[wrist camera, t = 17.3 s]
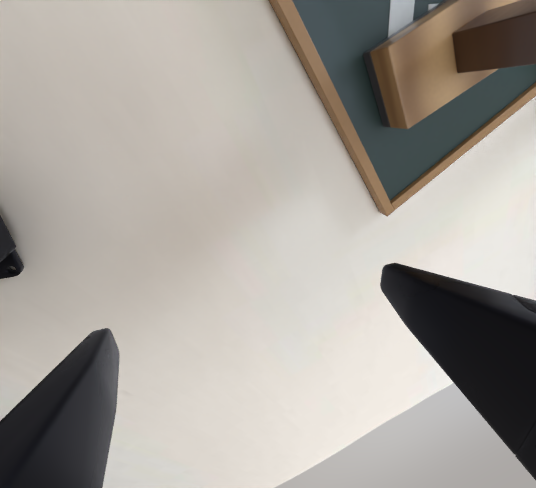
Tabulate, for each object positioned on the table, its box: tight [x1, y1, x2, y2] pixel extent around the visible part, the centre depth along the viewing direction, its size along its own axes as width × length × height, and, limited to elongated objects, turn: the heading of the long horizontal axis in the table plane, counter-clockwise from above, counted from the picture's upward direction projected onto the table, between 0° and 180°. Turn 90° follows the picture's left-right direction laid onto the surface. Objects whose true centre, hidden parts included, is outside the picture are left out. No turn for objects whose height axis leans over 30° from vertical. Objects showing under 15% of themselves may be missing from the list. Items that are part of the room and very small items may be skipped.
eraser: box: [363, 0, 536, 129], centre depth 15 cm, size 11×5×12 cm, turn 120°
